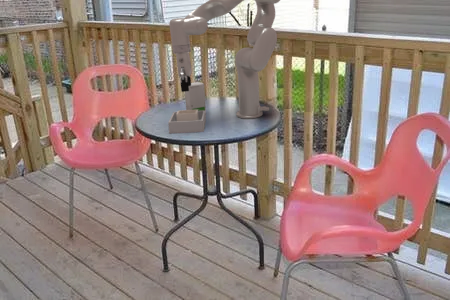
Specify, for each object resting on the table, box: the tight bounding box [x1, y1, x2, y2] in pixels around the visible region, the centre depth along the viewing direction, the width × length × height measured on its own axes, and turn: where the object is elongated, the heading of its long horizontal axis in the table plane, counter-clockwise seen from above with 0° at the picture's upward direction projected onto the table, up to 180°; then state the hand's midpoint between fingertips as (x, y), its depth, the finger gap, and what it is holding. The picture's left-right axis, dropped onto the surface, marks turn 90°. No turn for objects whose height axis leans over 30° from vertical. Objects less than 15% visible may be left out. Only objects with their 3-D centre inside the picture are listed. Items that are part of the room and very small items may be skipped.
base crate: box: [167, 111, 207, 134], centre depth 193 cm, size 15×16×5 cm
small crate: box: [176, 109, 199, 121], centre depth 192 cm, size 9×6×6 cm, turn 89°
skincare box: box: [184, 81, 207, 113], centre depth 208 cm, size 8×7×16 cm
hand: (186, 88), depth 187 cm, fingers open, 9 cm apart
